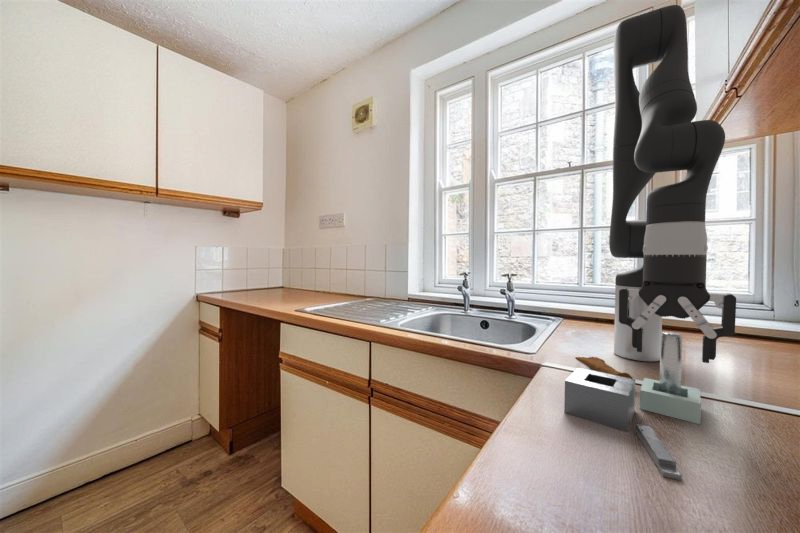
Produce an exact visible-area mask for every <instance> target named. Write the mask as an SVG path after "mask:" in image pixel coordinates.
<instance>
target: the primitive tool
mask: <svg viewBox="0 0 800 533" xmlns="http://www.w3.org/2000/svg"><path fill="white" fill-rule="evenodd" d="M575 359H576V360H577V361H579V362H581V363H582V364H583V365H585V366H587V367H588V368H590V370H593V371H598V372H602V373H607V374H612V375H617V376H621V377H626V378H631V379H634V378H633V376H632V375H631V374H630V373H627V372H620V371H618V370H616V369H615V368H614V367H612V366H610V365H609V364H607V363H606V362H605V360H604V359H602V358H600V357H597V356H589V357H584V356H582V357H581V356H576V357H575Z"/></svg>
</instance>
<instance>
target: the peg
mask: <svg viewBox="0 0 800 533" xmlns="http://www.w3.org/2000/svg"><path fill="white" fill-rule="evenodd" d="M682 358H683V334H682V333H678V332H673V331H662V332H661V344H660V361H659V381H660V385H659V392H664V393H668V394H673V395H677V396H681V385H682V366H683V365H682V364H683V362H682V361H683V359H682Z"/></svg>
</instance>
